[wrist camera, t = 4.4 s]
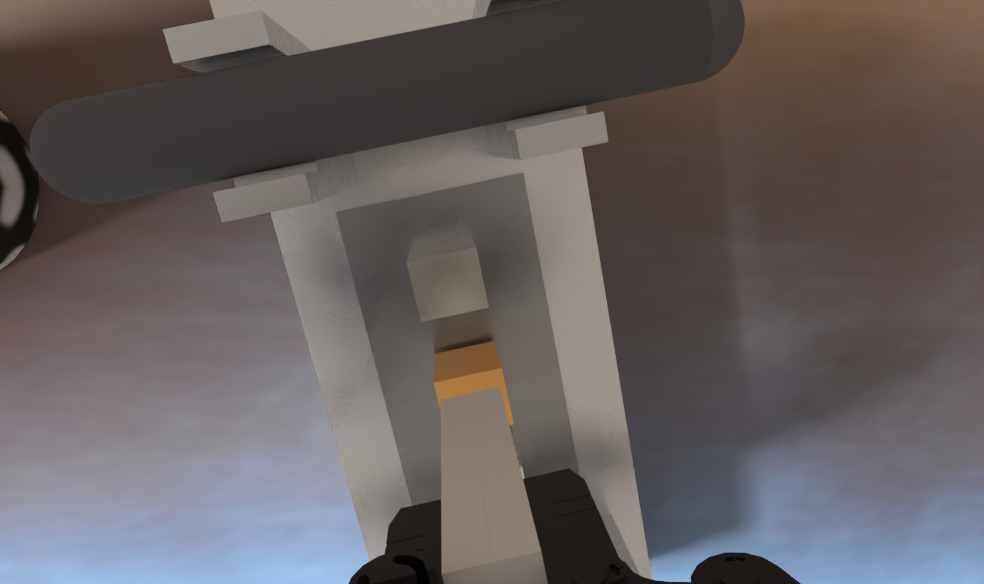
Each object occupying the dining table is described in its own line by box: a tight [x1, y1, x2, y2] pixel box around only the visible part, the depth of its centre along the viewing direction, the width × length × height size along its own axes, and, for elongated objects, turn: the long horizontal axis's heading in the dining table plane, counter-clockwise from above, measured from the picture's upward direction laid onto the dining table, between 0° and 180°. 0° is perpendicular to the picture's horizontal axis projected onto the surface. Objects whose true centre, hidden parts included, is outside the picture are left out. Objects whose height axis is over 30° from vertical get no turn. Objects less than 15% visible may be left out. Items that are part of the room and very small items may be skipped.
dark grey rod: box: [29, 0, 744, 204], centre depth 12 cm, size 14×2×2 cm, turn 101°
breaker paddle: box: [434, 341, 514, 425], centre depth 19 cm, size 2×2×3 cm
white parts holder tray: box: [163, 0, 652, 579], centre depth 20 cm, size 10×28×13 cm, turn 11°
